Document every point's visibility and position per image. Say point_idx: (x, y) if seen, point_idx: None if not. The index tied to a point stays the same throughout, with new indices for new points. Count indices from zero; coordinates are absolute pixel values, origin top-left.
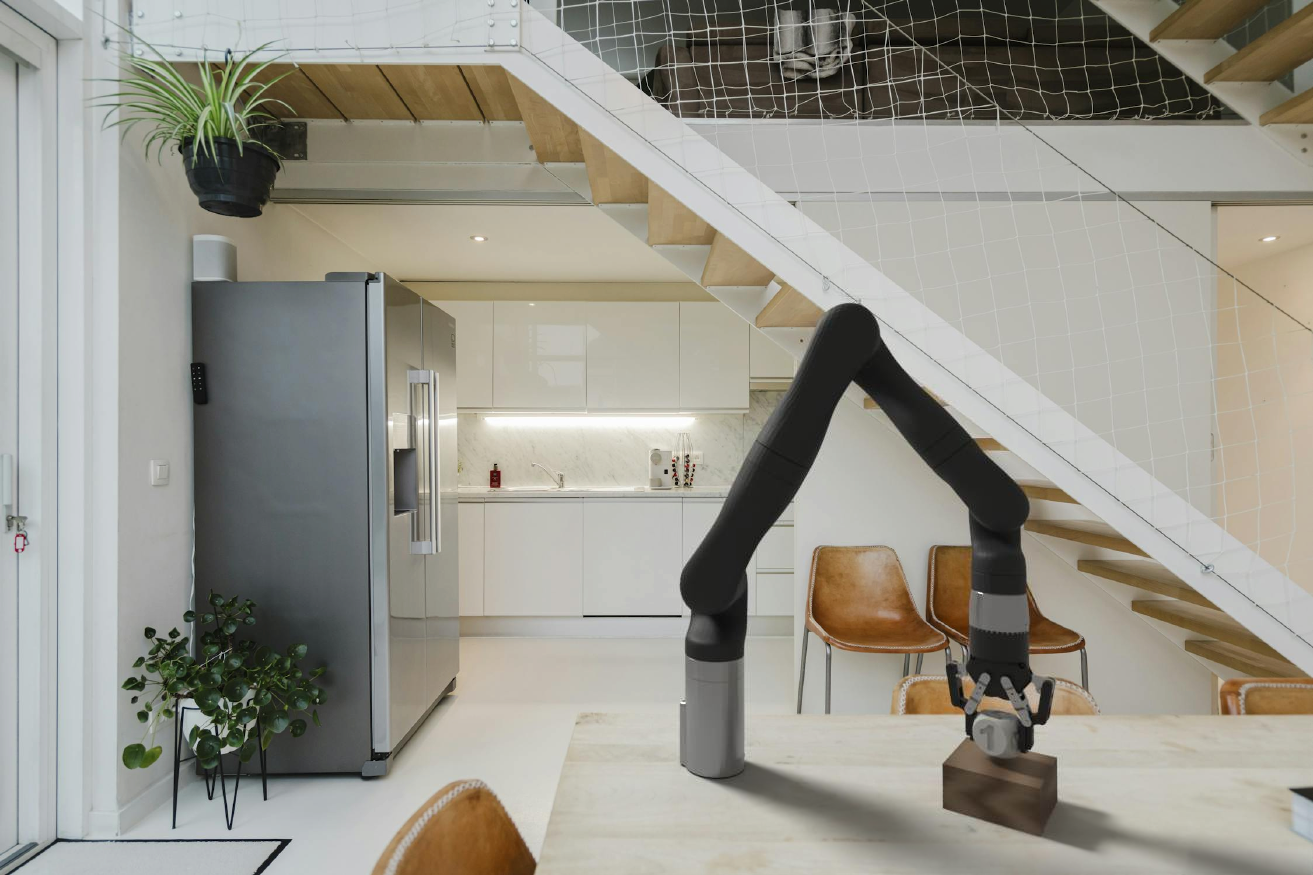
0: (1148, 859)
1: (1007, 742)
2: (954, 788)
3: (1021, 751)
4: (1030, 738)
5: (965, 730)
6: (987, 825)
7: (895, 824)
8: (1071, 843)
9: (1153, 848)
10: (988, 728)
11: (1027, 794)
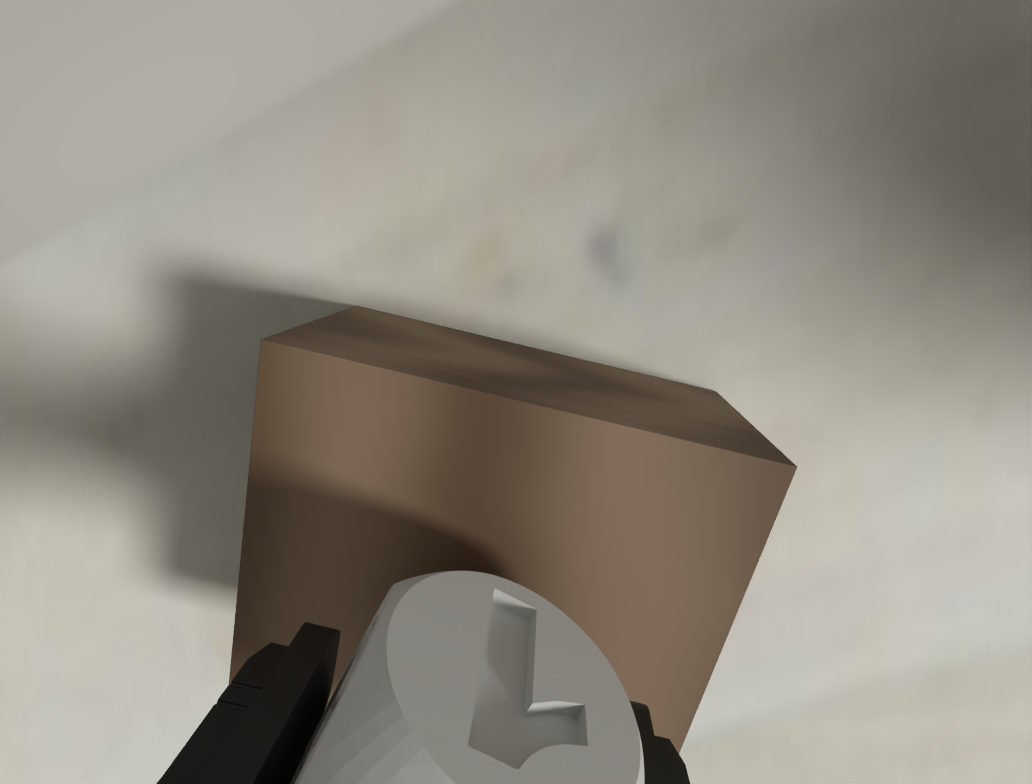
0: (23, 294)
1: (385, 616)
2: (693, 409)
3: (328, 627)
4: (222, 707)
5: (686, 770)
6: (544, 314)
7: (933, 146)
8: (254, 301)
9: (18, 383)
10: (521, 745)
11: (344, 344)
